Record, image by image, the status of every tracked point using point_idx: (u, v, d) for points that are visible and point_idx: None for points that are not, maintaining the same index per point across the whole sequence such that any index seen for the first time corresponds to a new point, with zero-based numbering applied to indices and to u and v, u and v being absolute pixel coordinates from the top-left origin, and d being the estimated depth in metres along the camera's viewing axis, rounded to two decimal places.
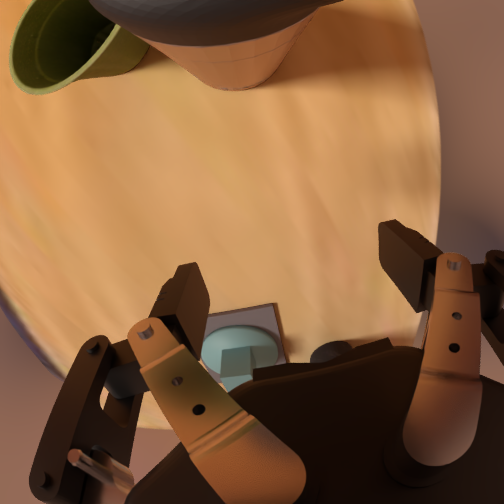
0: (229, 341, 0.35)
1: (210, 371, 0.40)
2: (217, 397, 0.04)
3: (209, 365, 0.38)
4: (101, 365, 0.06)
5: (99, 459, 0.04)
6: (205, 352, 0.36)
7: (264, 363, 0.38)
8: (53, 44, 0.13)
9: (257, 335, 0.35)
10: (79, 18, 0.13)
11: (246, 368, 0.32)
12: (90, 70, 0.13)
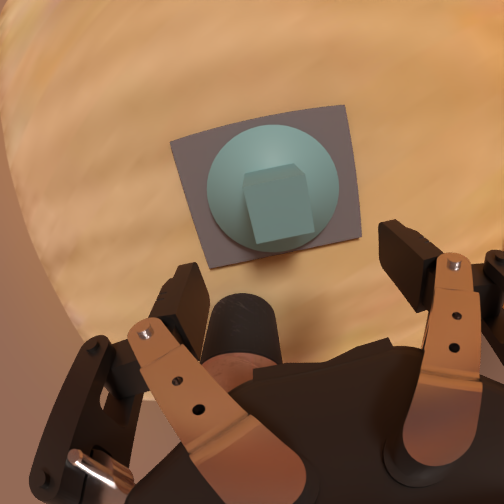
0: (313, 177, 0.21)
1: (210, 133, 0.21)
2: (217, 398, 0.04)
3: (245, 135, 0.20)
4: (101, 365, 0.06)
5: (99, 459, 0.04)
6: (284, 133, 0.20)
7: (252, 232, 0.23)
8: None
9: (323, 220, 0.23)
10: None
11: None
12: None
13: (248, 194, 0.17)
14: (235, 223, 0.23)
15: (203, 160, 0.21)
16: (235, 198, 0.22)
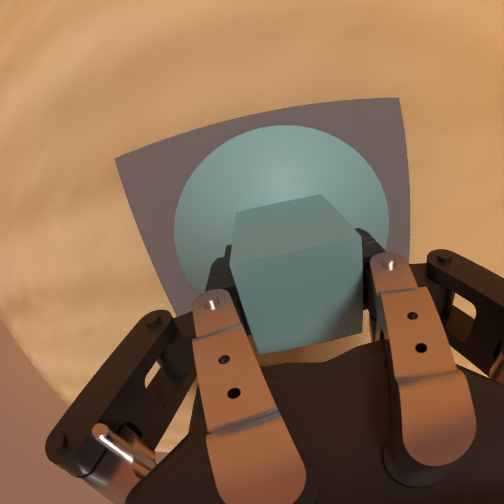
0: (352, 217, 0.13)
1: (177, 142, 0.12)
2: (256, 386, 0.04)
3: (237, 145, 0.11)
4: (157, 343, 0.07)
5: (125, 437, 0.05)
6: (307, 141, 0.11)
7: None
8: None
9: None
10: None
11: None
12: None
13: (242, 279, 0.08)
14: None
15: (167, 187, 0.13)
16: (222, 252, 0.13)
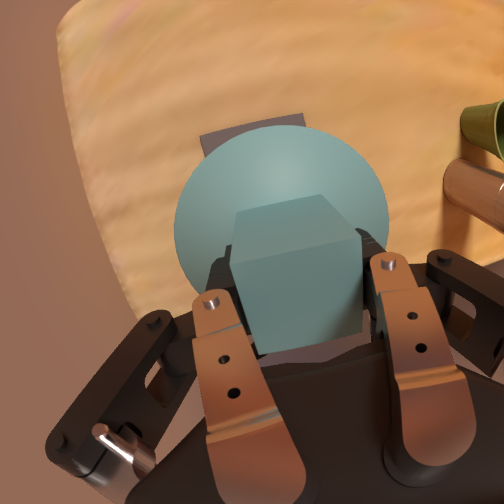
0: (352, 217, 0.13)
1: (223, 131, 0.36)
2: (256, 386, 0.04)
3: (237, 145, 0.11)
4: (156, 343, 0.07)
5: (126, 437, 0.05)
6: (307, 141, 0.11)
7: None
8: None
9: None
10: (496, 118, 0.28)
11: None
12: (489, 136, 0.26)
13: (242, 279, 0.08)
14: None
15: None
16: (222, 252, 0.13)
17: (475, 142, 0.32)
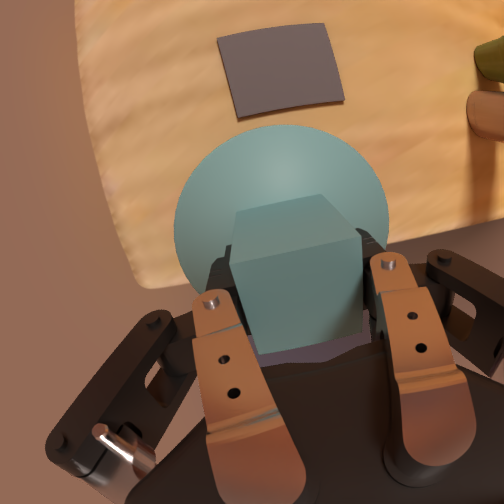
0: (352, 217, 0.13)
1: (243, 34, 0.27)
2: (256, 386, 0.04)
3: (237, 145, 0.11)
4: (157, 344, 0.07)
5: (126, 437, 0.05)
6: (307, 140, 0.11)
7: None
8: None
9: None
10: None
11: None
12: None
13: (241, 279, 0.08)
14: None
15: (238, 48, 0.28)
16: (222, 252, 0.13)
17: (491, 74, 0.23)
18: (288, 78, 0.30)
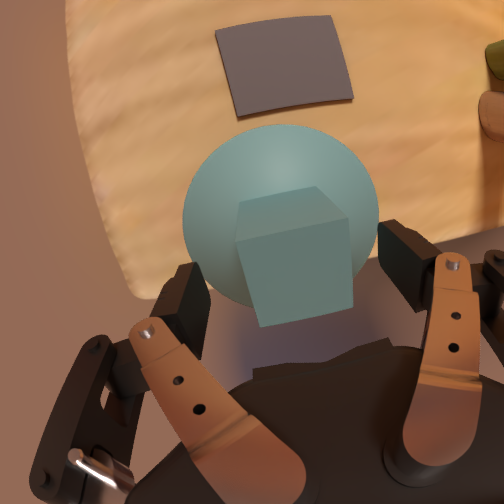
0: (344, 207, 0.14)
1: (243, 26, 0.24)
2: (218, 397, 0.04)
3: (240, 142, 0.12)
4: (102, 365, 0.06)
5: (99, 458, 0.04)
6: (303, 138, 0.12)
7: None
8: None
9: (354, 267, 0.16)
10: None
11: None
12: None
13: (245, 255, 0.10)
14: (227, 275, 0.16)
15: (238, 41, 0.25)
16: (226, 239, 0.15)
17: (503, 74, 0.20)
18: (292, 74, 0.27)
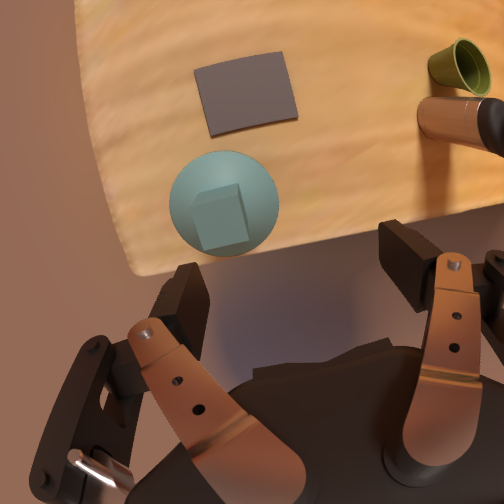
0: (256, 193, 0.26)
1: (214, 66, 0.36)
2: (217, 398, 0.04)
3: (198, 162, 0.25)
4: (101, 365, 0.06)
5: (99, 459, 0.04)
6: (230, 158, 0.25)
7: None
8: (457, 50, 0.28)
9: (267, 229, 0.28)
10: (461, 62, 0.30)
11: (247, 230, 0.24)
12: (452, 68, 0.28)
13: (194, 212, 0.22)
14: (193, 233, 0.28)
15: (210, 78, 0.37)
16: (192, 213, 0.27)
17: (443, 81, 0.34)
18: (251, 101, 0.40)
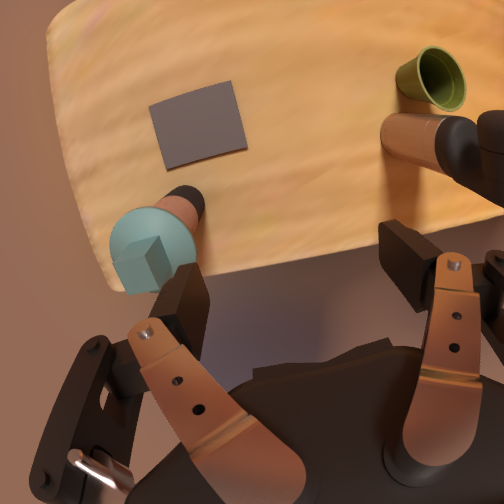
0: (174, 244, 0.30)
1: (167, 101, 0.40)
2: (218, 398, 0.04)
3: (126, 218, 0.28)
4: (101, 365, 0.06)
5: (99, 459, 0.04)
6: (150, 214, 0.28)
7: None
8: (428, 59, 0.30)
9: None
10: (434, 71, 0.32)
11: (160, 279, 0.27)
12: (416, 82, 0.30)
13: (116, 267, 0.25)
14: None
15: (163, 113, 0.41)
16: None
17: (411, 95, 0.36)
18: (201, 135, 0.43)
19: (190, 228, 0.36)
